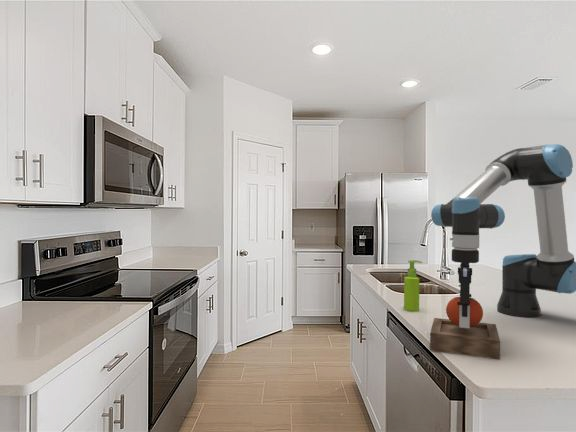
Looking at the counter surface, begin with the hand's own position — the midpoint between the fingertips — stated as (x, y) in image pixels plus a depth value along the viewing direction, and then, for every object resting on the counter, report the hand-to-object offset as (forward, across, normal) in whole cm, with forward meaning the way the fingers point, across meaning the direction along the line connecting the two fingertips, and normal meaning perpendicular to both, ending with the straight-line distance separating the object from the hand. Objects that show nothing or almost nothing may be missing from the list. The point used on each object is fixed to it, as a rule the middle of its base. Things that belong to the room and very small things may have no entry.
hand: (464, 322), depth 123 cm
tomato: (+1, 0, 0) cm, 1 cm away
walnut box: (+7, 0, 0) cm, 7 cm away
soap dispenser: (+7, -39, -19) cm, 44 cm away
